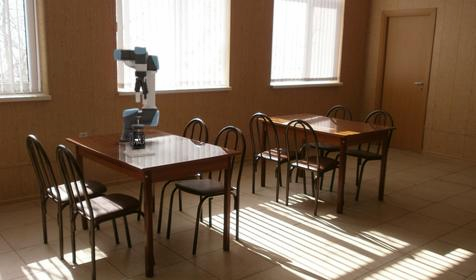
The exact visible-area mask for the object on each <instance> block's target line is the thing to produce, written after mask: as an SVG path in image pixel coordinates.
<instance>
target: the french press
mask: <svg viewBox="0 0 476 280" xmlns="http://www.w3.org/2000/svg"><path fill="white" fill-rule="evenodd" d="M136 117H137V118H138V124H136V125H132V129H138V131H136V132H132V133H130V141H129V147H131V150H139V149H147V148H146V132H145V131H141V130H145V127H146V126H145V125H142V124H139V117H141V116H136ZM137 133H138V134H137ZM139 133H140V134H139ZM131 134H132V141H131ZM139 135H141V139H139ZM137 136H138V139H137Z"/></svg>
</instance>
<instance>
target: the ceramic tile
mask: <svg viewBox="0 0 476 280" xmlns="http://www.w3.org/2000/svg"><path fill="white" fill-rule="evenodd" d="M123 154H125V155H126V156H128V157H130V158H138V157H148V156H155V154H156V153H155V152H154V151H152V150H151V149H148V148H146V149H139V150H132V149H131V150H129V149H128V150H123Z"/></svg>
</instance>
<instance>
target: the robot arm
mask: <svg viewBox="0 0 476 280" xmlns="http://www.w3.org/2000/svg"><path fill="white" fill-rule="evenodd" d="M113 58H114V61H118V62H120V61H121V62H123V64H124V65H125V66H127V67H129V68H131V69H134V70H135V71H134V77H135V83H134V89H133V90H134V92H135V103H140V102H141V94H142V105H143V106H142V107H141V110H139V108H138V107H137V108H136V107H135V108H130V109H129V108H128V109H124V110H123V112H122V128H123V129H122V133H121V136H120V140H121V141H123V142H130V133H132V132H136V131H138V129H132V125H136V124H138V118H137V117H136V116H141V117H139V124H142V125H145V126H144V127H156V126H157V125H158V124H159V119H160V110H158V108H157V106H156V74H157V73H158V71H159V70H160V62H159V57H158V55H157V53H149V52H148V51H147V47H146V46H137V45H136V46H134V48H133V49H127V48H123V49H122V48H117V49H116V48H115V49H114V51H113ZM141 92H142V93H141ZM137 134H138V133H137ZM139 134H140V133H139ZM137 139H138V136H137ZM139 139H141V135H139ZM131 142H132V134H131Z"/></svg>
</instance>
